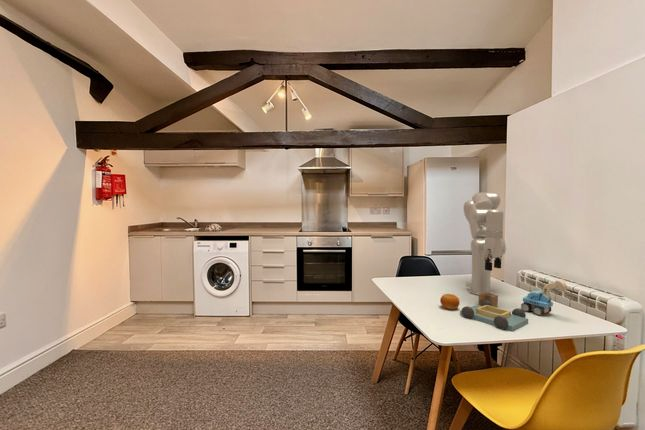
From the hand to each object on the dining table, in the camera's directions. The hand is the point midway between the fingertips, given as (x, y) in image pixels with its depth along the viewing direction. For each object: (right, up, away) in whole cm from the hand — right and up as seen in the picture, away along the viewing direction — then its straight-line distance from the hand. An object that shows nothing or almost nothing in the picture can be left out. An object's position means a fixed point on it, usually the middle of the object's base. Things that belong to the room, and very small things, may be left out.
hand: (493, 269), depth 150 cm
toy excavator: (+18, -20, -9) cm, 28 cm away
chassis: (-9, -19, -16) cm, 27 cm away
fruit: (-22, -19, -2) cm, 30 cm away
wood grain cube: (-2, -19, +1) cm, 19 cm away
